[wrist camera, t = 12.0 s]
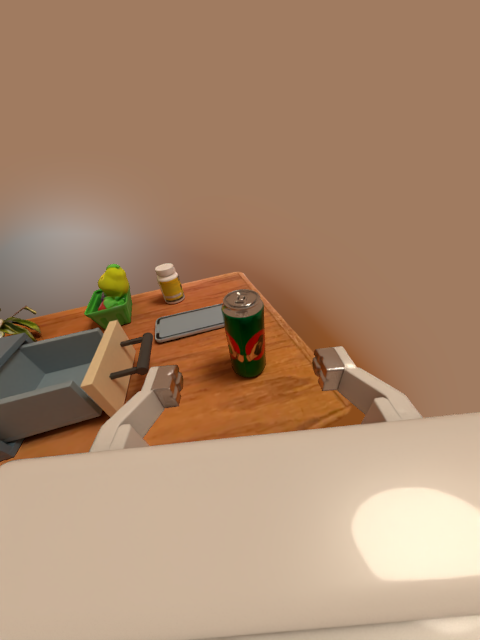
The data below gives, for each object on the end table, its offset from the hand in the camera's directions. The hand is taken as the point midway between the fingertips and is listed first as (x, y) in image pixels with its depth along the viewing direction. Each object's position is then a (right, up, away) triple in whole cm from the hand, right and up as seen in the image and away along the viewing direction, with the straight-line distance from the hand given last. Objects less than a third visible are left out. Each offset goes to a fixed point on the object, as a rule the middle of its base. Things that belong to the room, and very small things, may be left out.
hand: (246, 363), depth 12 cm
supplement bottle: (-16, +8, +37) cm, 41 cm away
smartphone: (-9, +2, +28) cm, 30 cm away
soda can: (+1, -5, +19) cm, 19 cm away
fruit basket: (-27, +4, +34) cm, 44 cm away
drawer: (-21, -7, +17) cm, 28 cm away
